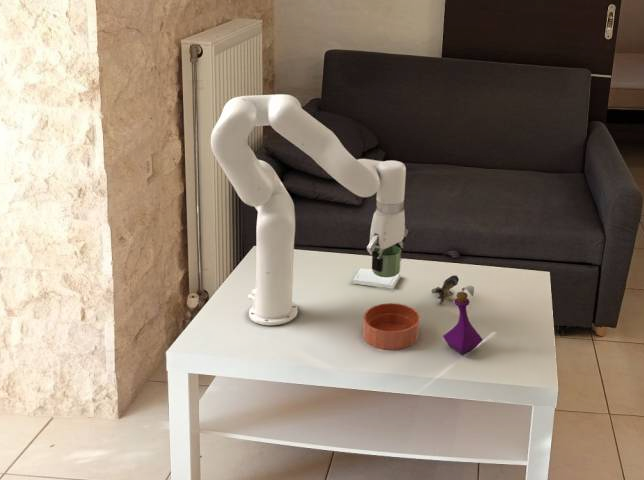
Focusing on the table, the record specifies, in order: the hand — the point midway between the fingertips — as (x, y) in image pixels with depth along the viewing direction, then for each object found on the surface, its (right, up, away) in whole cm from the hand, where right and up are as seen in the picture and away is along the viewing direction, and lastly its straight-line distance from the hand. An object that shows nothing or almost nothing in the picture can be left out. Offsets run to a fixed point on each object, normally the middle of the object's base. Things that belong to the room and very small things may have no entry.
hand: (386, 264), depth 203 cm
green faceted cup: (0, -2, 0) cm, 2 cm away
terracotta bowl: (+3, -16, -11) cm, 20 cm away
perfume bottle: (+22, -19, -14) cm, 32 cm away
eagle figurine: (+15, -13, +11) cm, 23 cm away
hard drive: (-6, -9, +18) cm, 21 cm away
